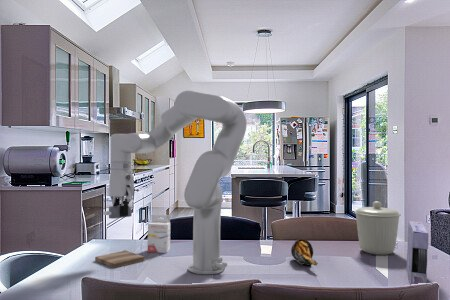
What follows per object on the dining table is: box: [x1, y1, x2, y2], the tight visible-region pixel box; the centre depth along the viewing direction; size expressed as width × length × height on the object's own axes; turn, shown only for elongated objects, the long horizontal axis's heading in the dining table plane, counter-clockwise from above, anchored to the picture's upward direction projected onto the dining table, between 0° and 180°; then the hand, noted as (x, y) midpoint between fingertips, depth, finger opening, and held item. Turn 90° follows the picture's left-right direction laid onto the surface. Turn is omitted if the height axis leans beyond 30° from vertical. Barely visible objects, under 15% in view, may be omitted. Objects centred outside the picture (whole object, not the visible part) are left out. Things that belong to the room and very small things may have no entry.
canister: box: [354, 200, 402, 256], centre depth 161 cm, size 18×18×21 cm
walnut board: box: [94, 250, 146, 269], centre depth 146 cm, size 13×13×2 cm
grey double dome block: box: [102, 204, 133, 219], centre depth 145 cm, size 4×11×4 cm, turn 137°
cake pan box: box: [406, 220, 429, 285], centre depth 126 cm, size 19×5×18 cm, turn 158°
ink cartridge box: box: [147, 214, 171, 254], centre depth 160 cm, size 9×5×15 cm, turn 84°
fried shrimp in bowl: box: [290, 238, 319, 267], centre depth 143 cm, size 9×11×18 cm
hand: (120, 214), depth 146 cm, fingers closed on grey double dome block, 4 cm apart
